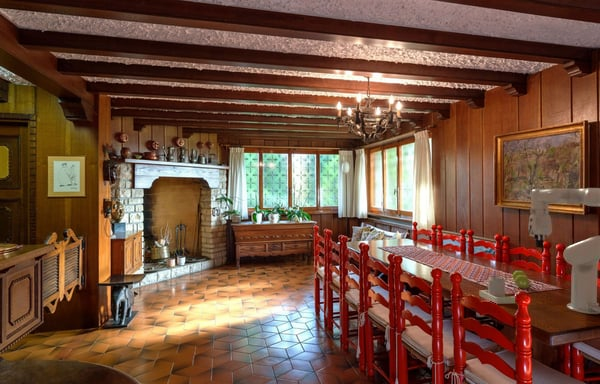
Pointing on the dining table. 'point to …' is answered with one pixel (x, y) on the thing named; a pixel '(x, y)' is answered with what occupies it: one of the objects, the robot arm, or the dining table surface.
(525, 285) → the dumbbell
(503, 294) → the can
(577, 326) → the dining table surface
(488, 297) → the pale green shallow tray
